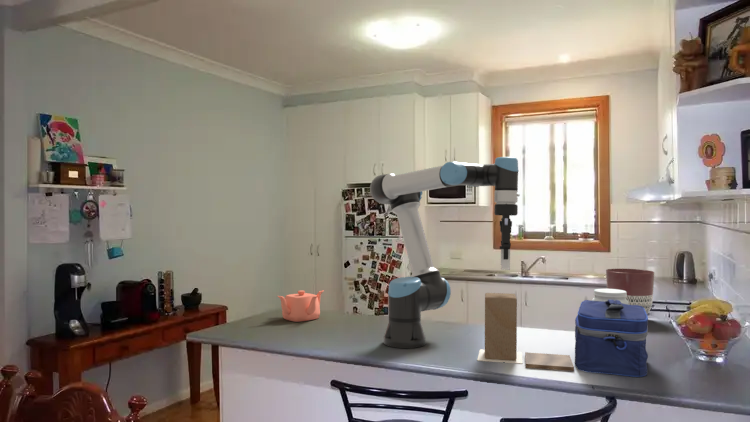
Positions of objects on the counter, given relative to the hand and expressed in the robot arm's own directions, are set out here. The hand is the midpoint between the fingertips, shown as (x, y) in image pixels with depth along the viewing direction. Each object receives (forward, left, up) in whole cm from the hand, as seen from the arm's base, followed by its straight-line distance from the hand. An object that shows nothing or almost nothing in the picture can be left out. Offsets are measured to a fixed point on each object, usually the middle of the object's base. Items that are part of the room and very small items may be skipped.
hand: (505, 267), depth 184 cm
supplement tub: (+38, +32, -30) cm, 58 cm away
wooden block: (-1, -3, -29) cm, 29 cm away
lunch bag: (+33, -2, -30) cm, 44 cm away
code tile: (-1, -3, -29) cm, 29 cm away
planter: (+52, +76, -30) cm, 97 cm away
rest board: (+14, -7, -29) cm, 33 cm away
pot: (-87, +37, -30) cm, 100 cm away
